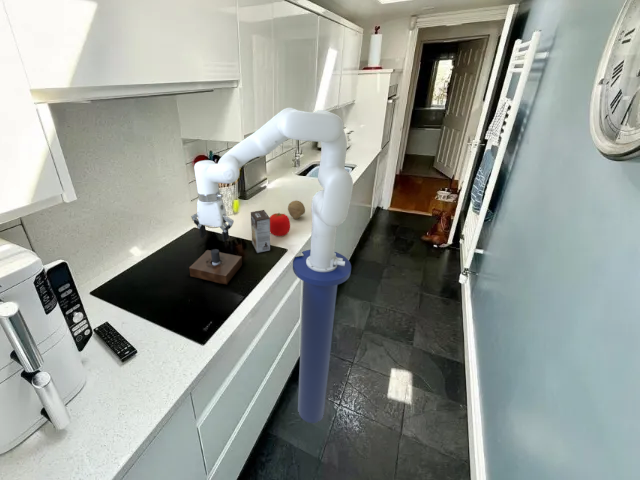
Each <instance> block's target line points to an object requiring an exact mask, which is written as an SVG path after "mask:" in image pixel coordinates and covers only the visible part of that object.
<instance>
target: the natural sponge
mask: <svg viewBox="0 0 640 480" xmlns="http://www.w3.org/2000/svg"><path fill="white" fill-rule="evenodd" d="M287 211H288V214H289V216H290V217H291V218H292V219H294V220H298V219H300V218H301V217H302V216H304V215H305V213H306V208H305V205H304V203H303V202H301V201H300V200H293V201H291V202H290V203H288V206H287Z"/></svg>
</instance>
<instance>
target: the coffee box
mask: <svg viewBox="0 0 640 480" xmlns="http://www.w3.org/2000/svg"><path fill="white" fill-rule="evenodd" d="M250 228H251V244H252V246H253V247H254V249H255V252H256V253H257V254H259V253H263V252H264V253H265V252H268V251H269V252H270V251H271V233H270V216H269V214H268V213H267V212H266V211H265V209H260V210H254V211H251V212H250Z"/></svg>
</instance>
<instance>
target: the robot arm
mask: <svg viewBox="0 0 640 480" xmlns="http://www.w3.org/2000/svg"><path fill="white" fill-rule="evenodd" d="M344 127H345V125H344V121H343V119H342V118H341V117H340V116H339V115H338V114H336V113H334V112H331V111H329V110H325V109H318V110H316V111H314V112H311V111H303V110H299V109H296V108H294V107H285V108H283V109H282V110H280V111H279V112H278V113H276V114H275V115H274V116H273V117H271V118H270V119H269V120H268V121H267V122H265V123H264V124H263V125H262V126H261V127H259V128H258V129H257V130H256V131H254V132H253V133H252V134H250V135H249V136H247V137H246V138H244V139H242V140H241V141H240V142H238V143H237V144H235V145H234V146H233V147H231V148H230V149H229V150H228V151H227V152H226V153H224V154H223V155H222V156H221V157H220V158H219V160H218V162H217V163H216V162H215V161H213V160H209V159H204V160H199V161H197V162H195V164H194V167H193V169H194V175H195V183H196V190H197V197H198V199H197V203H196V207H197V208H196V211H197V212H196V213H194V214H192V215H191V216H190V217H191V219H192V221H193V224H194V225H196V228H197V229H198V231H199V232H198V233H199V236H200V239H203V238H204V237H205V236H207V230H206V229H207V228H206V226H208V227H214V228H215V227H216V228H220V229H221V230H222V232H221V236H222V242H226V241H227V240H229V237H230V236H229V235H230V233H229V230H230V229H231V228H232V227H233V225H234V219H232V218H230V217H229V216H228V215H227V210H226V206H225V203H224V200H223V195H224V194H222V193H221V191H220V186H219V185H220V184H224V185H225V184H228V185H229V184H233V183H235V182H237V181H238V179H239V178H240V173H241V172H240V169H241V168H242V167H243V166H244V165H246V164H247V163H249V162H250V161H252V160H253V159H255V158H258V157H265V156H268V155H270V154H271V153H272V152H273V151H275V150H276V149H277V148H278V147H280V146H281V145H282V144H284V143H285V142H286V141H287V140H289V139H290V140H294V141H295V140H296V141H305V142H317V143H320V148H321V149H320V150H321V151H320V160H319V165H318V172H317V181H318V184H319V185H320V186H321V187H322V189H321V190H319V191H317V192H316V193H315V194H314V195H313V196H312V199H311V208H310V209H311V234H310V250H311V251H310V256H309V257H308V258H307V260H306V264H307V266H308V267H309V268H310V269H312V270H314V271H317V272H330V271H333V270H335V269H336V267H337V265H340V266H345V261H343V258H337V257H336V253H334V252H336V241H337V231H338V226H340V225H342V224H343V223H344V222H345V220H346V219H347V217H348V214H349V211H350V205H351V201H352V195H353V190H354V182H353V181H354V180H353V177H352V175H351V174H350V172H349V171H348V170H346V168H345V167H346V159H347V151H348V141H347V135H346V133H345V130H344V129H345V128H344ZM227 223H228V224H227Z"/></svg>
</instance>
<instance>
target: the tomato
mask: <svg viewBox="0 0 640 480" xmlns="http://www.w3.org/2000/svg"><path fill="white" fill-rule="evenodd" d="M269 217H270V235H272V236H275V237H284V236H286V235H287V234H289V232H290V230H291V222H290V218H289V216H288V215H286V214H285V213H280V212H278V213H277V212H276V213H273V214H272V215H270V216H269Z"/></svg>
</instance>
